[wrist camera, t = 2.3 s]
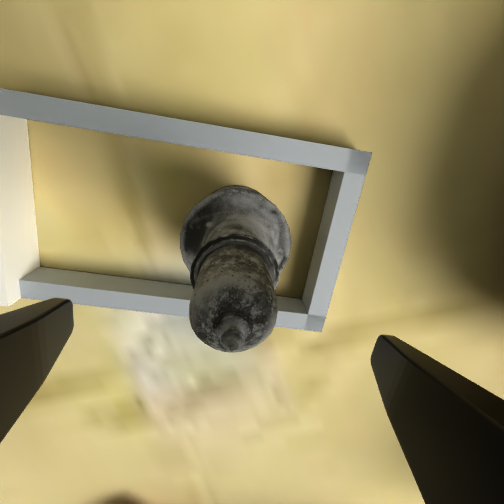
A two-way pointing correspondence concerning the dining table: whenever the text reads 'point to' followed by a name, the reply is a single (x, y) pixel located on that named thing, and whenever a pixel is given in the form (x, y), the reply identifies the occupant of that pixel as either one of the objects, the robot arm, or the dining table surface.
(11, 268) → the frame
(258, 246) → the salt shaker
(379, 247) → the dining table surface
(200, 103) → the dining table surface
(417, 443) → the robot arm
